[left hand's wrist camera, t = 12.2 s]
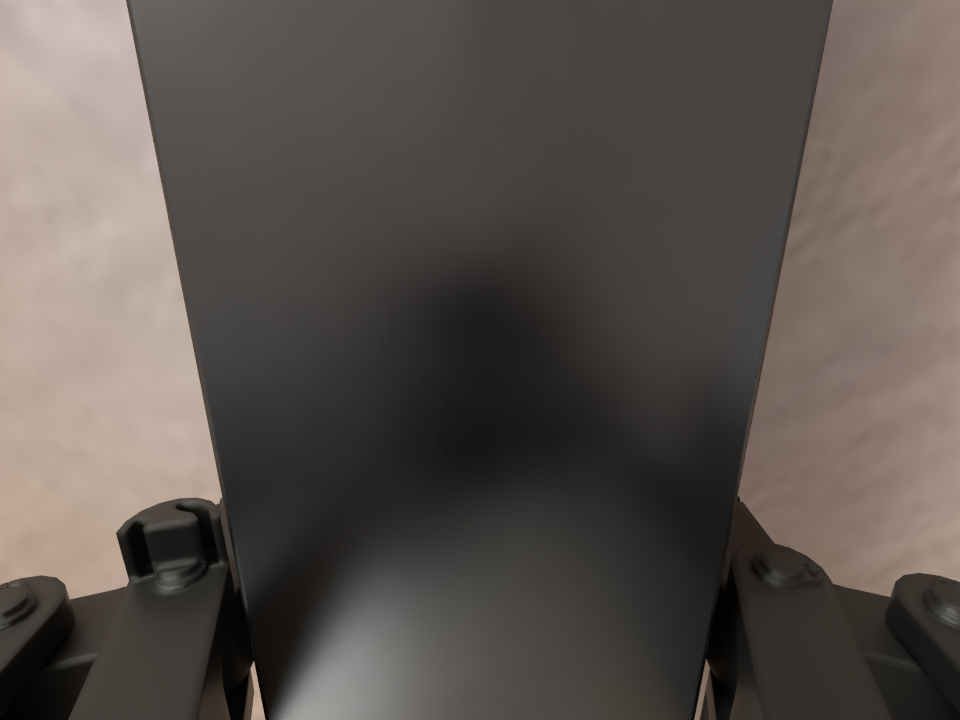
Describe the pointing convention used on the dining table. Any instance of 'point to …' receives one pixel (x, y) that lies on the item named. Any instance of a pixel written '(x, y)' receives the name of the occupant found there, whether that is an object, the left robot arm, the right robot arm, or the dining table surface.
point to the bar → (479, 330)
